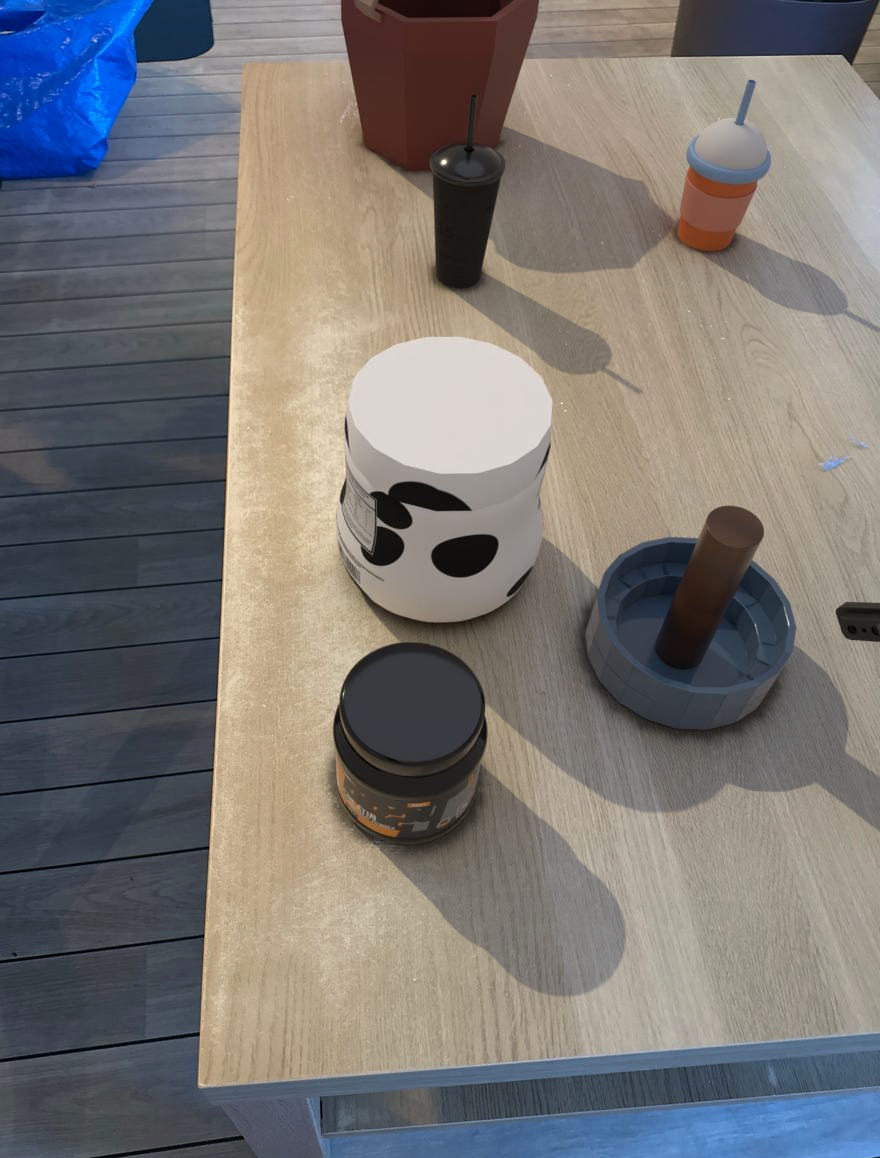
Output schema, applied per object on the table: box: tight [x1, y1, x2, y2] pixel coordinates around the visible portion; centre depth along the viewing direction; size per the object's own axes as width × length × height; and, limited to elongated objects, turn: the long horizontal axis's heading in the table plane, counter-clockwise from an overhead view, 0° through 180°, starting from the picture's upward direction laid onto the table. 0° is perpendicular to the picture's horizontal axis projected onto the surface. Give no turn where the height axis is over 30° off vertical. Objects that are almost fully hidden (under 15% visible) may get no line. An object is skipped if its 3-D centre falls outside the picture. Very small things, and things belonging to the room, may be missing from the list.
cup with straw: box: [677, 79, 772, 252], centre depth 109 cm, size 9×9×18 cm
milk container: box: [335, 336, 554, 624], centre depth 80 cm, size 17×17×18 cm
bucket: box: [340, 0, 540, 172], centre depth 117 cm, size 24×22×25 cm
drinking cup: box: [430, 94, 507, 290], centre depth 103 cm, size 8×8×20 cm
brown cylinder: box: [655, 505, 765, 669], centre depth 75 cm, size 4×4×15 cm
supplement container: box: [332, 641, 489, 845], centre depth 69 cm, size 10×10×12 cm
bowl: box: [584, 536, 797, 731], centre depth 79 cm, size 15×15×6 cm
